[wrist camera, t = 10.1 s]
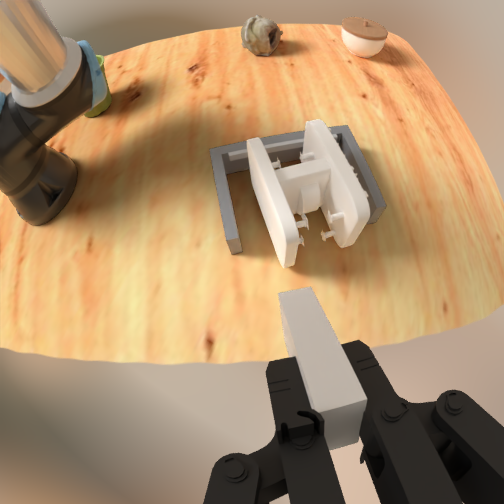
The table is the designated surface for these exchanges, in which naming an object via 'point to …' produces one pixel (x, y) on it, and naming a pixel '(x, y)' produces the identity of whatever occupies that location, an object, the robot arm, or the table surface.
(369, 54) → the lidded jar
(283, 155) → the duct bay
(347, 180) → the cable organizer
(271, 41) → the grey lumpy rounded piece
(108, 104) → the plant pot
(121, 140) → the table surface
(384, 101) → the table surface
